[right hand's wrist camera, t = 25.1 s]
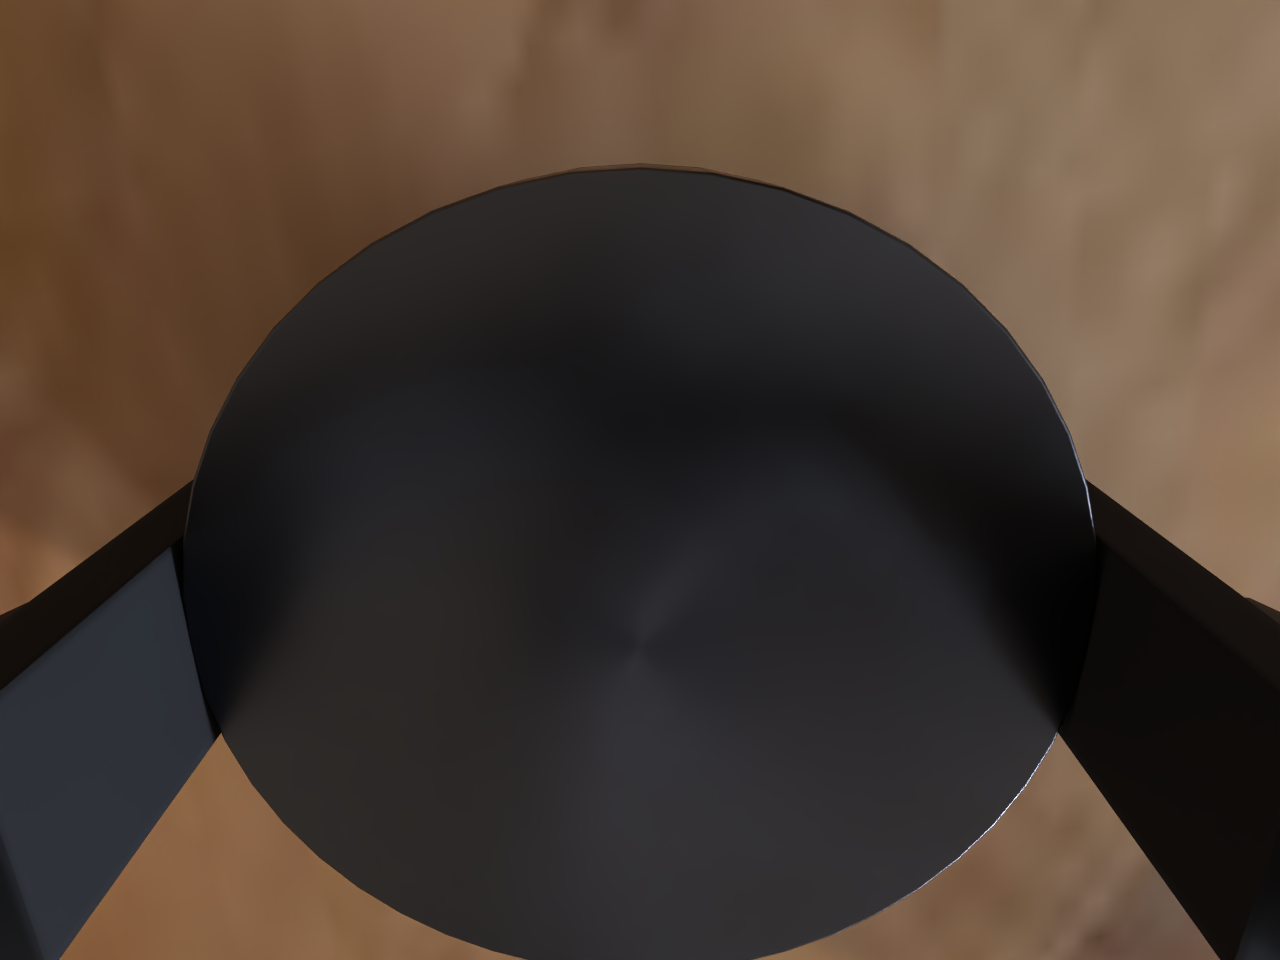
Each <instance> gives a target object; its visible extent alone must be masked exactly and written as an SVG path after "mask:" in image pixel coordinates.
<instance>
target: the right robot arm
mask: <svg viewBox="0 0 1280 960" xmlns="http://www.w3.org/2000/svg"><path fill="white" fill-rule="evenodd" d="M1085 480H1086V479H1085ZM193 481H194V479H193V480H192V481H191V482H189V483H188V484H187V485H185V486H184V487H183V488H181V489H180V490H179V491H177V492H176V493H175V494H173V495H172V496H170V497H169V498H168V499H166V500H165V501H164V502H162V503H161V504H160V505H158V506H157V507H156V508H154V509H153V510H152V511H150V512H149V513H148V514H146V515H145V516H144V517H142V518H141V519H140V520H138V521H137V522H136V523H134V524H133V525H132V526H130V527H129V528H128V529H126V530H125V531H124V532H122V533H121V534H120V535H118V536H117V537H115V538H114V539H113V540H111V541H110V542H109V543H107V544H106V545H105V546H103V547H102V548H101V549H99V550H98V551H97V552H95V553H94V554H93V555H91V556H90V557H89V558H87V559H86V560H85V561H83V562H82V563H81V564H79V565H78V566H77V567H75V568H74V569H73V570H71V571H70V572H69V573H67V574H66V575H64V576H63V577H62V578H60V579H59V580H58V581H56V582H55V583H54V584H52V585H51V586H50V587H48V588H47V589H46V590H44V591H43V592H42V593H40V594H39V595H38V596H36V597H35V598H34V599H32V600H31V601H30V602H28V603H26V604H23V605H21V606H19V607H17V608H15V609H13V610H11V611H8V612H6V613H4V614H2V615H0V960H59V959H60V957H61V956H62V955H63V953H64V952H65V950H66V949H67V948H68V946H69V945H70V943H71V942H72V941H73V939H74V938H75V936H76V935H77V934H78V932H79V931H80V929H81V928H82V927H83V925H84V924H85V922H86V921H87V920H88V918H89V917H90V915H91V914H92V913H93V911H94V910H95V908H96V907H97V906H98V904H99V903H100V901H101V900H102V899H103V897H104V896H105V894H106V893H107V892H108V890H109V889H110V887H111V886H112V885H113V883H114V882H115V880H116V879H117V878H118V876H119V875H120V873H121V872H122V871H123V869H124V868H125V866H126V865H127V864H128V862H129V861H130V859H131V858H132V857H133V855H134V854H135V852H136V851H137V850H138V848H139V847H140V845H141V844H142V843H143V841H144V840H145V838H146V837H147V836H148V834H149V833H150V831H151V830H152V829H153V827H154V826H155V824H156V823H157V822H158V820H159V819H160V817H161V816H162V815H163V813H164V812H165V810H166V809H167V808H168V806H169V805H170V803H171V802H172V801H173V799H174V798H175V796H176V795H177V794H178V792H179V791H180V789H181V788H182V787H183V785H184V784H185V782H186V781H187V780H188V778H189V777H190V775H191V774H192V773H193V771H194V770H195V768H196V767H197V766H198V764H199V763H200V761H201V760H202V759H203V757H204V756H205V754H206V753H207V752H208V750H209V749H210V747H211V746H212V745H213V743H214V742H215V740H216V739H217V738H218V736H219V735H220V733H221V731H220V728H219V726H218V724H217V722H216V720H215V717H214V715H213V713H212V711H211V709H210V706H209V704H208V702H207V700H206V697H205V695H204V692H203V689H202V685H201V682H200V678H199V675H198V672H197V668H196V665H195V661H194V656H193V652H192V648H191V643H190V638H189V633H188V628H187V621H186V614H185V607H184V600H183V538H184V531H185V525H186V519H187V513H188V507H189V501H190V495H191V489H192V484H193ZM1086 483H1087V486H1088V493H1089V499H1090V505H1091V511H1092V518H1093V524H1094V530H1095V536H1096V568H1097V597H1096V604H1095V610H1094V617H1093V624H1092V630H1091V635H1090V640H1089V645H1088V650H1087V654H1086V658H1085V662H1084V666H1083V670H1082V673H1081V676H1080V680H1079V683H1078V686H1077V690H1076V693H1075V696H1074V699H1073V701H1072V703H1071V705H1070V707H1069V710H1068V712H1067V714H1066V716H1065V718H1064V721H1063V723H1062V725H1061V727H1060V729H1059V731H1058V733H1059V734H1060V736H1061V737H1062V739H1063V740H1064V741H1065V743H1066V744H1067V746H1068V747H1069V748H1070V750H1071V751H1072V753H1073V754H1074V755H1075V757H1076V758H1077V760H1078V761H1079V762H1080V764H1081V765H1082V767H1083V768H1084V769H1085V771H1086V772H1087V774H1088V775H1089V776H1090V778H1091V779H1092V781H1093V782H1094V783H1095V785H1096V786H1097V788H1098V789H1099V790H1100V792H1101V793H1102V795H1103V796H1104V797H1105V799H1106V800H1107V802H1108V803H1109V804H1110V806H1111V807H1112V809H1113V810H1114V811H1115V813H1116V814H1117V816H1118V817H1119V818H1120V820H1121V821H1122V823H1123V824H1124V825H1125V827H1126V828H1127V830H1128V831H1129V832H1130V834H1131V835H1132V837H1133V838H1134V839H1135V841H1136V842H1137V844H1138V845H1139V846H1140V848H1141V849H1142V851H1143V852H1144V853H1145V855H1146V856H1147V858H1148V859H1149V860H1150V862H1151V863H1152V865H1153V866H1154V867H1155V869H1156V870H1157V872H1158V873H1159V874H1160V876H1161V877H1162V879H1163V880H1164V881H1165V883H1166V884H1167V886H1168V887H1169V888H1170V890H1171V891H1172V893H1173V894H1174V895H1175V897H1176V898H1177V900H1178V901H1179V902H1180V904H1181V905H1182V907H1183V908H1184V909H1185V911H1186V912H1187V914H1188V915H1189V916H1190V918H1191V919H1192V921H1193V922H1194V923H1195V925H1196V926H1197V928H1198V929H1199V930H1200V932H1201V933H1202V935H1203V936H1204V937H1205V939H1206V940H1207V942H1208V943H1209V944H1210V946H1211V947H1212V949H1213V950H1214V951H1215V953H1216V954H1217V956H1218V957H1219V958H1220V960H1280V612H1279V611H1277V610H1274V609H1272V608H1270V607H1268V606H1266V605H1264V604H1261V603H1259V602H1257V601H1255V600H1253V599H1251V598H1244V597H1243V596H1242V595H1240V594H1239V593H1238V592H1236V591H1235V590H1234V589H1232V588H1231V587H1229V586H1228V585H1227V584H1225V583H1224V582H1223V581H1221V580H1220V579H1219V578H1217V577H1216V576H1215V575H1213V574H1212V573H1211V572H1209V571H1208V570H1207V569H1205V568H1204V567H1203V566H1201V565H1200V564H1199V563H1197V562H1196V561H1195V560H1193V559H1192V558H1191V557H1189V556H1188V555H1187V554H1185V553H1184V552H1183V551H1181V550H1180V549H1179V548H1177V547H1176V546H1175V545H1173V544H1172V543H1170V542H1169V541H1168V540H1166V539H1165V538H1164V537H1162V536H1161V535H1160V534H1158V533H1157V532H1156V531H1154V530H1153V529H1152V528H1150V527H1149V526H1148V525H1146V524H1145V523H1144V522H1142V521H1141V520H1140V519H1138V518H1137V517H1136V516H1134V515H1133V514H1132V513H1130V512H1129V511H1128V510H1126V509H1125V508H1124V507H1122V506H1121V505H1120V504H1118V503H1117V502H1115V501H1114V500H1113V499H1111V498H1110V497H1109V496H1107V495H1106V494H1105V493H1103V492H1102V491H1101V490H1099V489H1098V488H1097V487H1095V486H1094V485H1093V484H1091V483H1090V482H1089V481H1087V480H1086Z"/></svg>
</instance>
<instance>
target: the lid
mask: <svg viewBox="0 0 1280 960" xmlns="http://www.w3.org/2000/svg"><path fill="white" fill-rule="evenodd" d="M1096 597H1097V568H1096V536H1095V530H1094V524H1093V518H1092V511H1091V505H1090V499H1089V493H1088V486H1087V483H1086V480H1085V477H1084V474H1083V471H1082V468H1081V465H1080V462H1079V459H1078V455H1077V452H1076V449H1075V446H1074V443H1073V440H1072V437H1071V434H1070V431H1069V429H1068V427H1067V425H1066V423H1065V421H1064V420H1063V418H1062V416H1061V414H1060V412H1059V410H1058V408H1057V406H1056V404H1055V402H1054V400H1053V398H1052V396H1051V394H1050V392H1049V390H1048V388H1047V386H1046V384H1045V382H1044V380H1043V379H1042V377H1041V376H1040V374H1039V373H1038V372H1037V370H1036V369H1035V367H1034V366H1033V365H1032V363H1031V362H1030V361H1029V359H1028V358H1027V356H1026V355H1025V354H1024V352H1023V351H1022V349H1021V348H1020V347H1019V345H1018V344H1017V342H1016V341H1015V340H1014V338H1013V337H1012V336H1011V334H1010V333H1009V331H1008V330H1007V329H1006V328H1005V327H1004V326H1003V325H1002V324H1001V323H1000V322H999V321H998V320H997V319H996V318H995V317H994V316H993V315H992V314H991V313H990V312H989V311H988V310H987V309H986V308H985V307H984V306H983V305H982V304H981V302H980V301H979V300H978V299H977V298H976V297H975V296H974V295H973V294H972V293H971V292H970V291H969V290H968V289H967V288H966V287H965V286H964V285H963V284H962V283H960V282H959V281H958V280H956V279H955V278H954V277H952V276H951V275H950V274H948V273H947V272H946V271H944V270H943V269H942V268H940V267H939V266H938V265H936V264H935V263H934V262H932V261H931V260H930V259H928V258H927V257H926V256H924V255H923V254H922V253H920V252H919V251H918V250H916V249H915V248H914V247H912V246H911V245H910V244H908V243H906V242H904V241H902V240H900V239H899V238H897V237H895V236H893V235H891V234H889V233H888V232H886V231H884V230H882V229H880V228H878V227H876V226H875V225H873V224H871V223H869V222H867V221H865V220H864V219H862V218H860V217H858V216H856V215H854V214H852V213H851V212H849V211H846V210H843V209H841V208H838V207H835V206H832V205H830V204H827V203H824V202H822V201H819V200H816V199H813V198H811V197H808V196H805V195H803V194H800V193H797V192H794V191H792V190H789V189H786V188H784V187H780V186H777V185H773V184H770V183H766V182H762V181H759V180H755V179H750V178H746V177H741V176H736V175H732V174H727V173H722V172H718V171H713V170H708V169H704V168H698V167H684V166H670V165H656V164H642V163H639V164H624V165H609V166H595V167H581V168H576V169H571V170H567V171H562V172H557V173H552V174H548V175H543V176H538V177H533V178H529V179H524V180H520V181H517V182H513V183H510V184H506V185H502V186H499V187H496V188H493V189H491V190H488V191H485V192H482V193H479V194H477V195H474V196H471V197H468V198H466V199H463V200H460V201H457V202H455V203H452V204H449V205H446V206H444V207H441V208H438V209H435V210H433V211H431V212H429V213H427V214H425V215H423V216H421V217H419V218H418V219H416V220H414V221H412V222H410V223H408V224H406V225H405V226H403V227H401V228H399V229H397V230H395V231H393V232H391V233H390V234H388V235H386V236H384V237H382V238H380V239H378V240H377V241H375V242H373V243H371V244H370V245H368V246H367V247H366V248H364V249H363V250H362V251H360V252H359V253H358V254H356V255H355V256H354V257H352V258H351V259H350V260H348V261H347V262H346V263H344V264H343V265H342V266H340V267H339V268H337V269H336V270H335V271H333V272H332V273H331V274H329V275H328V276H327V277H325V278H324V279H323V280H321V281H320V282H319V283H318V284H317V285H316V286H315V287H314V288H313V289H312V290H311V291H310V292H309V293H308V294H307V295H306V296H305V297H304V298H303V299H302V300H301V301H300V302H299V303H298V304H297V305H296V306H295V307H294V308H293V309H292V310H291V311H290V312H289V313H288V314H287V315H286V316H285V317H284V318H283V319H282V320H281V321H280V322H279V323H278V324H277V325H276V326H275V327H274V328H273V329H272V331H271V332H270V333H269V335H268V336H267V337H266V339H265V340H264V341H263V343H262V344H261V346H260V347H259V348H258V350H257V351H256V352H255V354H254V355H253V357H252V358H251V359H250V361H249V362H248V363H247V365H246V366H245V368H244V369H243V370H242V372H241V373H240V374H239V376H238V377H237V379H236V381H235V383H234V385H233V387H232V389H231V391H230V393H229V394H228V396H227V398H226V400H225V402H224V404H223V406H222V408H221V410H220V412H219V414H218V416H217V418H216V420H215V422H214V424H213V426H212V428H211V429H210V432H209V435H208V438H207V441H206V444H205V447H204V450H203V453H202V456H201V459H200V462H199V465H198V468H197V471H196V474H195V478H194V481H193V484H192V489H191V495H190V501H189V507H188V513H187V519H186V525H185V531H184V538H183V600H184V607H185V614H186V621H187V628H188V633H189V638H190V643H191V648H192V652H193V656H194V661H195V665H196V668H197V672H198V675H199V678H200V682H201V685H202V689H203V692H204V695H205V697H206V700H207V702H208V704H209V706H210V709H211V711H212V713H213V715H214V717H215V720H216V722H217V724H218V726H219V728H220V731H221V733H222V735H223V737H224V740H225V742H226V743H227V745H228V746H229V748H230V750H231V751H232V753H233V755H234V756H235V758H236V759H237V761H238V763H239V764H240V766H241V767H242V769H243V771H244V772H245V774H246V775H247V777H248V779H249V780H250V782H251V783H252V785H253V786H254V787H255V788H256V790H257V791H258V792H259V793H260V795H261V796H262V797H263V798H264V800H265V801H266V802H267V803H268V804H269V806H270V807H271V808H272V809H273V811H274V812H275V813H276V814H277V816H278V817H279V818H280V819H281V820H282V822H283V823H284V824H285V825H286V826H287V827H288V828H289V829H290V830H291V831H292V832H293V833H294V834H295V835H297V836H298V837H299V838H300V839H301V840H302V841H303V842H304V843H305V844H306V845H307V846H308V847H309V848H310V849H311V850H312V851H313V852H314V853H315V854H316V855H317V856H318V857H319V858H321V859H322V860H323V861H325V862H326V863H327V864H328V865H330V866H331V867H332V868H334V869H335V870H336V871H338V872H339V873H340V874H341V875H343V876H344V877H345V878H347V879H348V880H349V881H351V882H352V883H353V884H354V885H356V886H357V887H358V888H360V889H362V890H363V891H365V892H367V893H368V894H370V895H372V896H373V897H375V898H376V899H378V900H380V901H381V902H383V903H385V904H386V905H388V906H390V907H391V908H393V909H395V910H396V911H398V912H400V913H401V914H403V915H405V916H408V917H410V918H412V919H414V920H416V921H418V922H420V923H422V924H425V925H427V926H429V927H431V928H433V929H435V930H437V931H439V932H442V933H444V934H446V935H449V936H451V937H454V938H457V939H460V940H463V941H466V942H468V943H471V944H474V945H477V946H480V947H483V948H485V949H488V950H491V951H495V952H499V953H503V954H507V955H511V956H515V957H519V958H523V959H527V960H752V959H757V958H761V957H765V956H769V955H773V954H777V953H781V952H785V951H788V950H791V949H794V948H797V947H800V946H803V945H805V944H808V943H811V942H814V941H817V940H820V939H823V938H826V937H828V936H831V935H834V934H836V933H838V932H840V931H842V930H844V929H846V928H849V927H851V926H853V925H855V924H857V923H859V922H861V921H864V920H866V919H868V918H870V917H872V916H874V915H876V914H878V913H880V912H882V911H883V910H885V909H886V908H888V907H890V906H891V905H893V904H895V903H896V902H898V901H900V900H901V899H903V898H905V897H906V896H908V895H910V894H911V893H913V892H915V891H916V890H918V889H920V888H921V887H922V886H924V885H925V884H926V883H928V882H929V881H930V880H932V879H933V878H934V877H935V876H937V875H938V874H939V873H941V872H942V871H943V870H945V869H946V868H947V867H949V866H950V865H951V864H953V863H954V862H955V861H956V860H958V859H959V858H960V857H961V856H962V855H963V854H964V853H965V852H966V851H967V850H968V849H969V848H971V847H972V846H973V845H974V844H975V843H976V842H977V841H978V840H979V839H980V838H981V837H982V836H983V835H984V834H985V833H986V832H987V831H988V830H989V829H990V828H991V827H992V826H993V825H995V823H996V822H997V821H998V820H999V818H1000V817H1001V816H1002V815H1003V814H1004V812H1005V811H1006V810H1007V809H1008V808H1009V806H1010V805H1011V804H1012V803H1013V801H1014V800H1015V799H1016V798H1017V797H1018V795H1019V794H1020V793H1021V792H1022V790H1023V789H1024V788H1025V787H1026V786H1027V784H1028V782H1029V781H1030V779H1031V778H1032V776H1033V774H1034V773H1035V771H1036V770H1037V768H1038V766H1039V765H1040V763H1041V762H1042V760H1043V759H1044V757H1045V755H1046V754H1047V752H1048V751H1049V749H1050V747H1051V746H1052V744H1053V742H1054V740H1055V738H1056V736H1057V734H1058V731H1059V729H1060V727H1061V725H1062V723H1063V721H1064V718H1065V716H1066V714H1067V712H1068V710H1069V707H1070V705H1071V703H1072V701H1073V699H1074V696H1075V693H1076V690H1077V686H1078V683H1079V680H1080V676H1081V673H1082V670H1083V666H1084V662H1085V658H1086V654H1087V650H1088V645H1089V640H1090V635H1091V630H1092V624H1093V617H1094V610H1095V604H1096Z"/></svg>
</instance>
